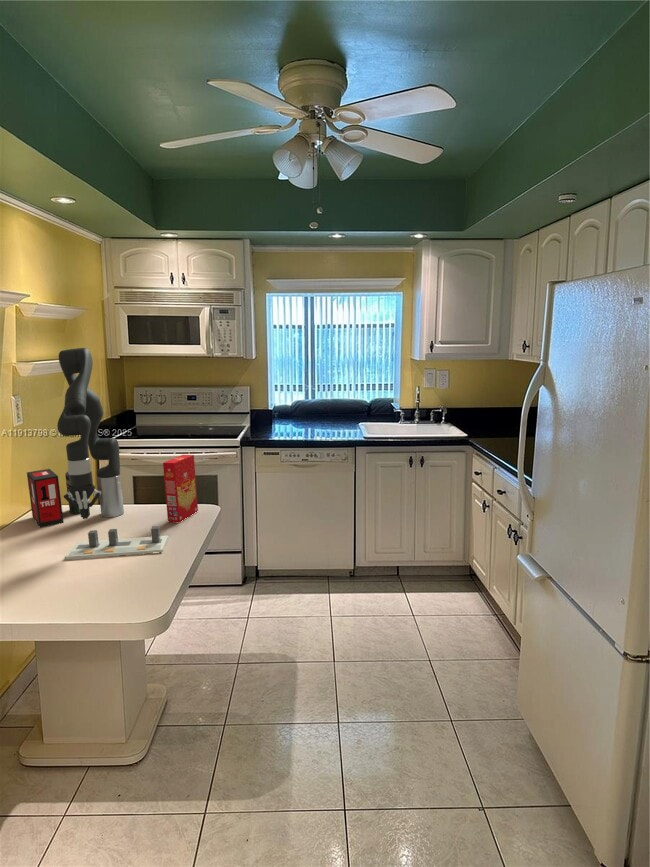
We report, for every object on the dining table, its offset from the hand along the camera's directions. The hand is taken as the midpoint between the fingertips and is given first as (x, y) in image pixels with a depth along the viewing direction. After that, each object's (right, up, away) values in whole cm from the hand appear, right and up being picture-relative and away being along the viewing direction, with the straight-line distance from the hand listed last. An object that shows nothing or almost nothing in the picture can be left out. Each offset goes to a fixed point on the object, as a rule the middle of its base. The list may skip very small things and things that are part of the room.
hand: (85, 518), depth 203 cm
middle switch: (+9, -10, +3) cm, 14 cm away
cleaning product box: (-31, -6, +37) cm, 49 cm away
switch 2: (+24, -9, +4) cm, 26 cm away
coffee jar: (-23, -4, +47) cm, 53 cm away
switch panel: (+11, -11, +2) cm, 16 cm away
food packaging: (+26, -5, +35) cm, 44 cm away
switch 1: (+2, -10, +2) cm, 10 cm away
